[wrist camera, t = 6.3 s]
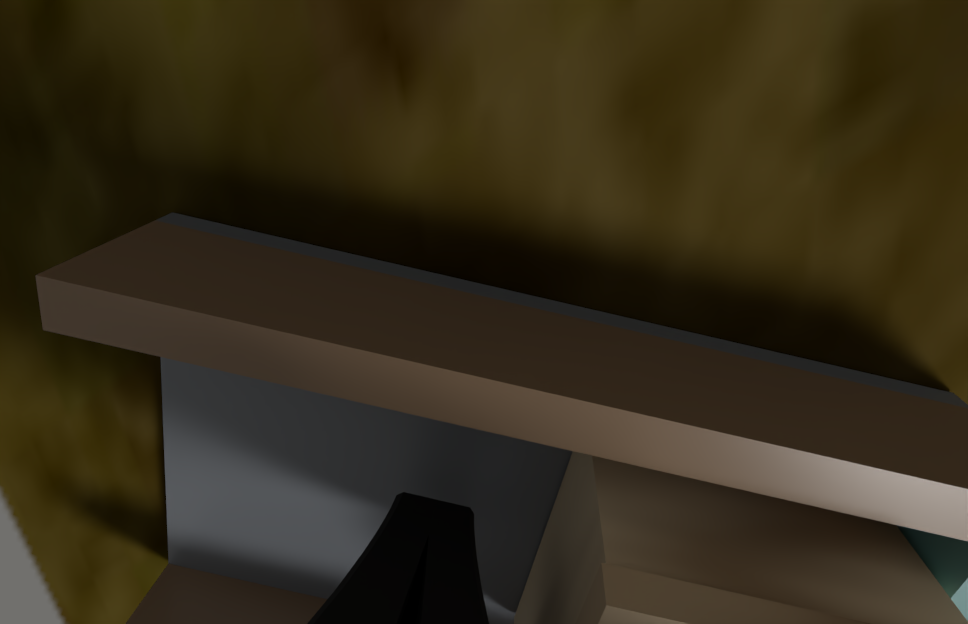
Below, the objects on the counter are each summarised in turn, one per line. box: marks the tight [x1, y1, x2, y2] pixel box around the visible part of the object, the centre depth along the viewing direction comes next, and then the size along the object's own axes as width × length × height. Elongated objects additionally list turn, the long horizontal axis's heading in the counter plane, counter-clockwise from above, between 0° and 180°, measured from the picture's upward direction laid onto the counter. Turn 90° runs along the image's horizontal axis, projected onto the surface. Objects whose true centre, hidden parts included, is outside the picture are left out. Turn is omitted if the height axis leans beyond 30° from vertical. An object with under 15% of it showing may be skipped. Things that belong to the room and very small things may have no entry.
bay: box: [35, 212, 968, 624], centre depth 11 cm, size 14×9×3 cm, turn 78°
